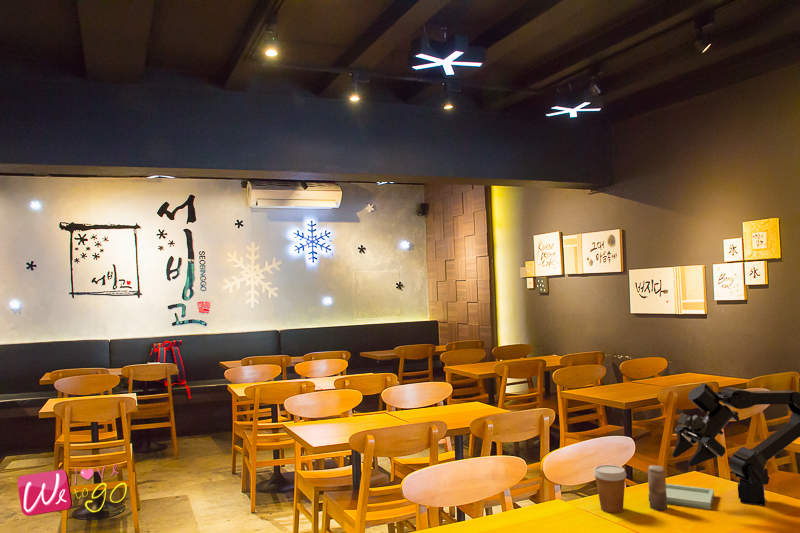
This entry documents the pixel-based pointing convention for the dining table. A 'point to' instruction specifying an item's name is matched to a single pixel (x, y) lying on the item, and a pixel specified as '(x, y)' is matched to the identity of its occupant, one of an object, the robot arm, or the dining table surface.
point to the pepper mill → (657, 488)
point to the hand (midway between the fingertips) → (681, 460)
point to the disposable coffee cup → (610, 487)
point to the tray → (689, 496)
